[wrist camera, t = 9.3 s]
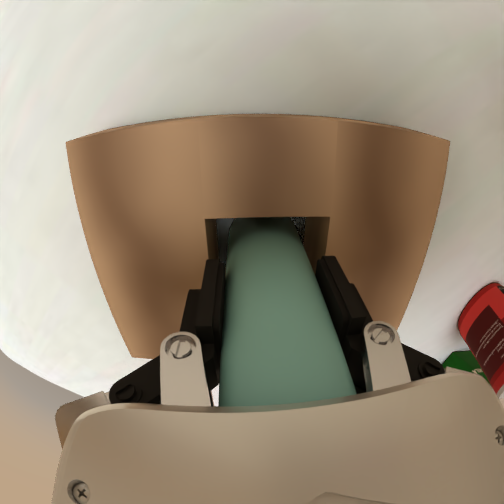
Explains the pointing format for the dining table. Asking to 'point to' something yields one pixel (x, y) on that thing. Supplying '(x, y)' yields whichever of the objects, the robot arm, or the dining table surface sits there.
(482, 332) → the canned food
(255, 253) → the peg
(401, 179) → the socket block
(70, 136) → the dining table surface
